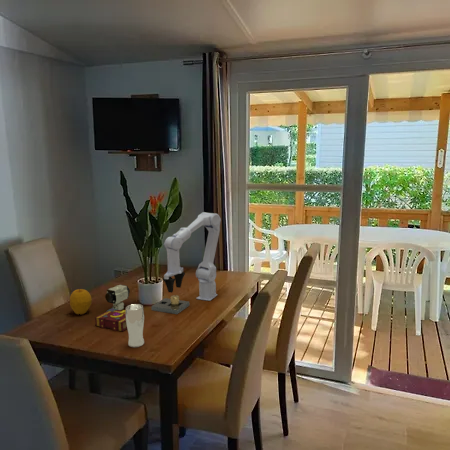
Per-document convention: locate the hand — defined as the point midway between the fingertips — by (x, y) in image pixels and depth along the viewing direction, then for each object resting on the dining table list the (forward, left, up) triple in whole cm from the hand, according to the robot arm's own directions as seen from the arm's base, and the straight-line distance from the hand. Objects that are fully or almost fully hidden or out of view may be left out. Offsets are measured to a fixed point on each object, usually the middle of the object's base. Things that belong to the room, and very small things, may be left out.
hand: (174, 289), depth 190 cm
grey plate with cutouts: (0, -3, -9) cm, 10 cm away
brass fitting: (0, 0, -9) cm, 9 cm away
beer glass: (+38, +4, -10) cm, 39 cm away
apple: (+21, -39, -10) cm, 45 cm away
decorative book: (+25, -15, -10) cm, 31 cm away
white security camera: (+11, -25, -10) cm, 29 cm away
